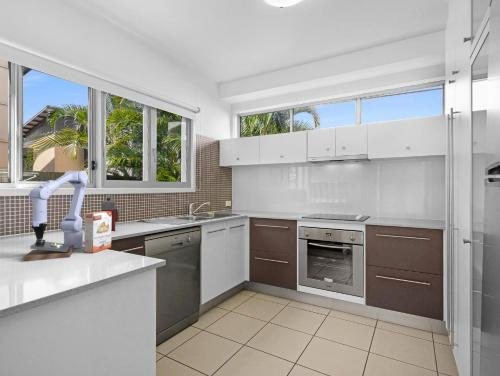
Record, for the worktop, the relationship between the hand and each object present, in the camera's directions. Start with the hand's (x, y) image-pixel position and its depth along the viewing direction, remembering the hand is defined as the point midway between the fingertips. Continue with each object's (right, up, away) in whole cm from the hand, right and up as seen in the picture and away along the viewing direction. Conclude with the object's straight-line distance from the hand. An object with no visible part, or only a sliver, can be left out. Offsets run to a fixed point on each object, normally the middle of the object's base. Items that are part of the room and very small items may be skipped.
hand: (39, 239), depth 137 cm
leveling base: (+4, -9, +2) cm, 10 cm away
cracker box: (+21, -9, +14) cm, 27 cm away
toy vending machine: (-3, -8, +75) cm, 76 cm away
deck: (+4, -5, +2) cm, 7 cm away
